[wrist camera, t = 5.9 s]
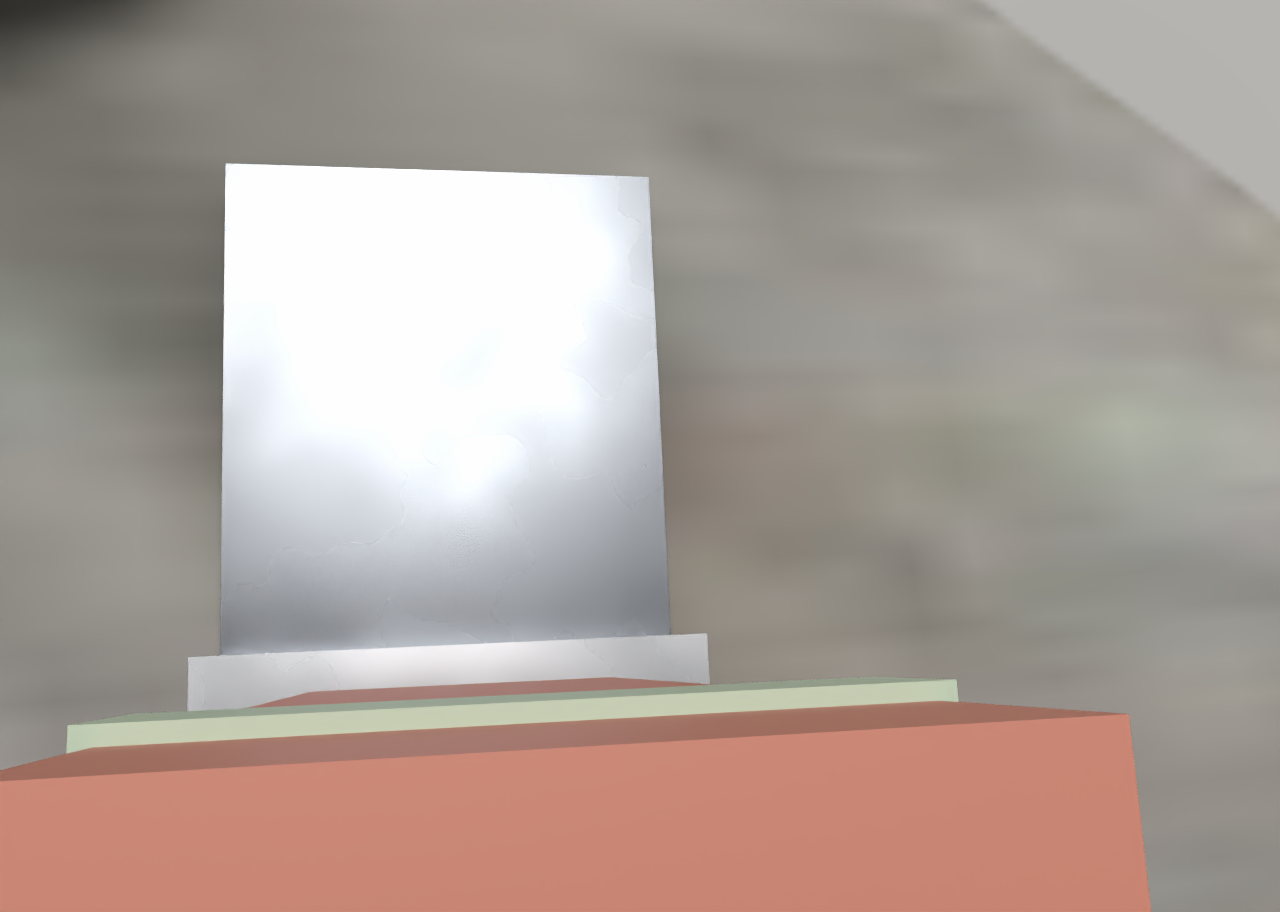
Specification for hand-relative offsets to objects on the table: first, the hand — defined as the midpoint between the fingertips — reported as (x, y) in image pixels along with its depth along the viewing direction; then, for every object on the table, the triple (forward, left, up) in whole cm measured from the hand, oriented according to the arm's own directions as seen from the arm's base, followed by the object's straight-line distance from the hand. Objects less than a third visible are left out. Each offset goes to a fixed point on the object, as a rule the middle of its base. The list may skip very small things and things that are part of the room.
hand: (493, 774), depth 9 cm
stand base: (+1, -2, -13) cm, 13 cm away
